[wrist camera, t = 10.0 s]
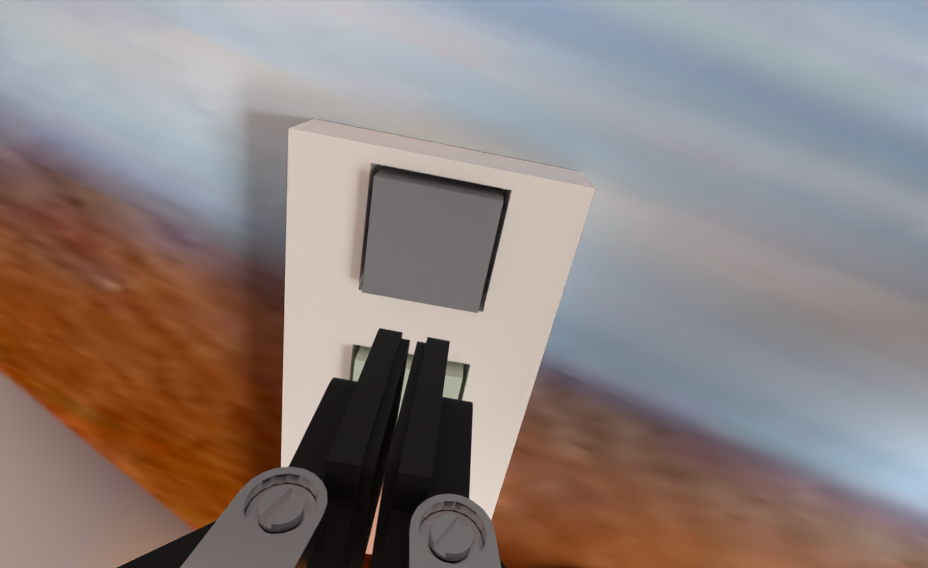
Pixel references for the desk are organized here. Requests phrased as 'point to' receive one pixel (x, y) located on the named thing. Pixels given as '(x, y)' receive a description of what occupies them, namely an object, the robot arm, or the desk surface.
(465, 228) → the charcoal button
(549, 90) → the desk surface
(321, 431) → the robot arm
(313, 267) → the panel
